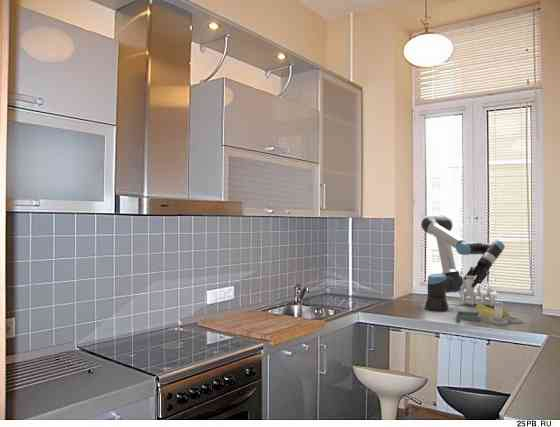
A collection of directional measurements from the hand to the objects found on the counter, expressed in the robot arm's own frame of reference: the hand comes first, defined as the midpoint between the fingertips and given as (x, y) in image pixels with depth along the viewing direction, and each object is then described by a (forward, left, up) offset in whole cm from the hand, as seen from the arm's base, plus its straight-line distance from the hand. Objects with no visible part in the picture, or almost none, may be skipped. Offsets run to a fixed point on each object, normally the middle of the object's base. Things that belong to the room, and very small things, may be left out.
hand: (465, 290), depth 270 cm
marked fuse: (-3, +3, -4) cm, 5 cm away
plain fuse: (+3, +18, -17) cm, 25 cm away
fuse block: (0, +22, -19) cm, 29 cm away
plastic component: (-23, +15, -19) cm, 34 cm away
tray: (-3, +2, -19) cm, 19 cm away
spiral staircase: (-57, +7, -19) cm, 61 cm away
